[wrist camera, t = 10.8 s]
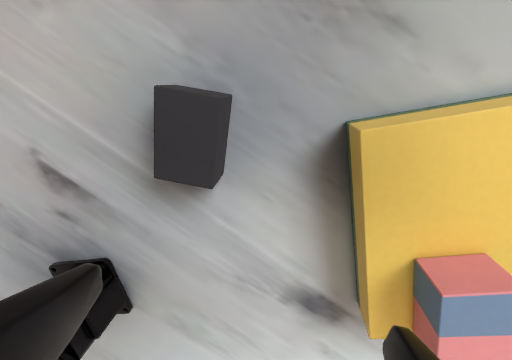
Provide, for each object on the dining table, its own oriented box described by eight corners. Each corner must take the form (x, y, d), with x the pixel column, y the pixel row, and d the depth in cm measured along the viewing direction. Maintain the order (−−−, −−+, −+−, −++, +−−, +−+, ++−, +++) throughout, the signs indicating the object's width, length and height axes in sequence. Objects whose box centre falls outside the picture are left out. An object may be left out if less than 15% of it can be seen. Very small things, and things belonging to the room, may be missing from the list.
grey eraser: (223, 174, 19) (212, 190, 16) (172, 164, 19) (153, 178, 16) (232, 94, 17) (221, 97, 14) (175, 84, 17) (153, 85, 14)
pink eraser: (474, 328, 17) (511, 377, 14) (411, 330, 18) (435, 377, 15) (486, 252, 15) (532, 291, 12) (413, 257, 16) (441, 296, 13)
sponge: (486, 296, 20) (522, 335, 17) (357, 302, 22) (369, 339, 19) (519, 91, 15) (582, 94, 12) (345, 121, 17) (359, 130, 13)
